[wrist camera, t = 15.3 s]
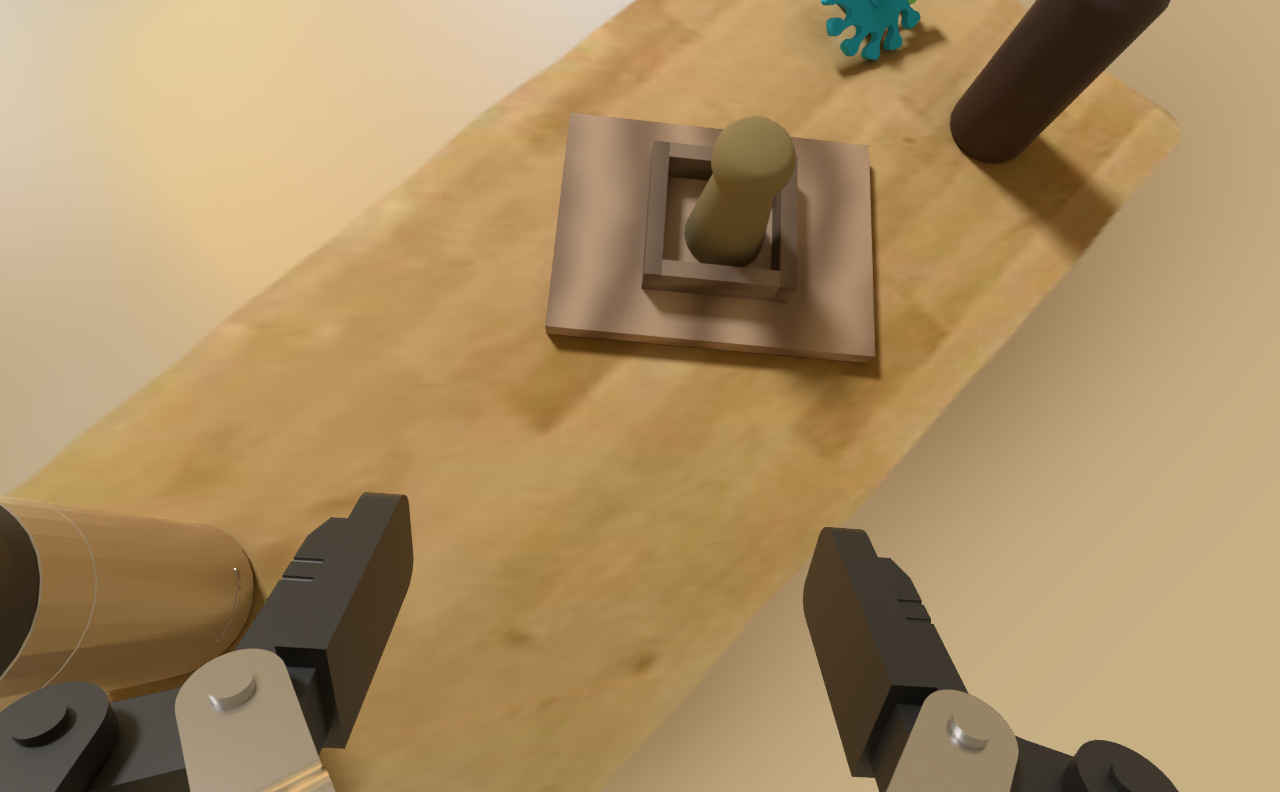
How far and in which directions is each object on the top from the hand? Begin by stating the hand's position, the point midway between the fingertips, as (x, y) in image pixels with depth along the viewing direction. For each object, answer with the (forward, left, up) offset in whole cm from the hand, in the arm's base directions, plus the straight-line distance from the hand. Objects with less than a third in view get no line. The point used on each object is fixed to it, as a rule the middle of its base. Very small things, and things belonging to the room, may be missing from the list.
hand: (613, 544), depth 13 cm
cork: (+8, +25, -31) cm, 41 cm away
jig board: (+7, +25, -33) cm, 42 cm away
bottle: (+30, +38, -33) cm, 59 cm away
